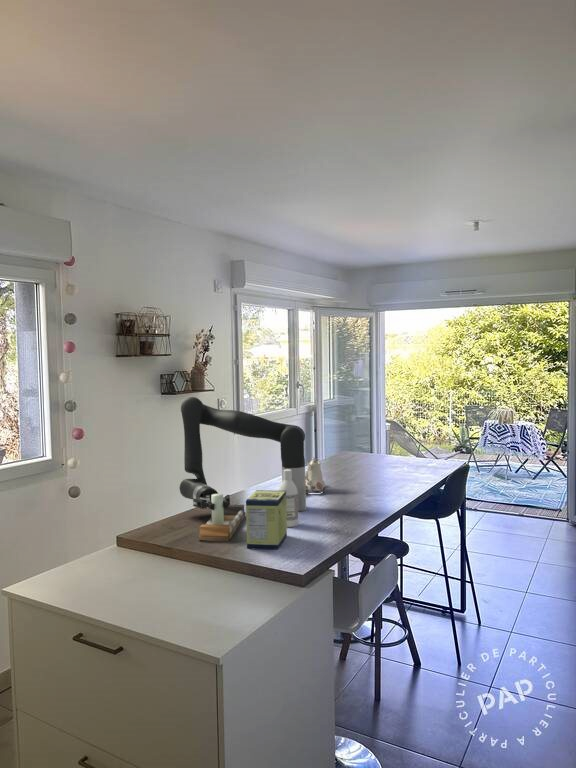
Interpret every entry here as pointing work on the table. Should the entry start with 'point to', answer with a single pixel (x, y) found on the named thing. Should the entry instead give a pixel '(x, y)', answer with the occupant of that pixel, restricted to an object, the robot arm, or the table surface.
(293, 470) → the robot arm
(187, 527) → the table surface
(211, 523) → the keeper
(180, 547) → the table surface
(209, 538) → the rail
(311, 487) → the chinaware
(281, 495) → the protein box
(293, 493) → the bath foam
